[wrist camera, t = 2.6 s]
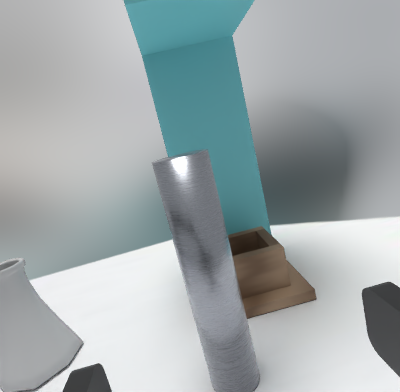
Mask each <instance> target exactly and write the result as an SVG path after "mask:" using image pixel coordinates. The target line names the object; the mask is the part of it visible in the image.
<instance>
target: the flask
mask: <svg viewBox="0 0 400 392" xmlns="http://www.w3.org/2000/svg"><path fill="white" fill-rule="evenodd" d="M24 266H25V260H24V259H22V258H15V259H10V260H6V261H4V262H1V263H0V387H1V389H2V390H3V392H15V391H22V390H30V389H36V388H37V387H38V386H40V385H41V384H42V383H44V382H45V381H47V380H48V379H49V378H51V377H52V376H53V375H55V374H56V373H57V372H59V371H60V370H62V369H63V368H64V367H66V366H67V365H68V364H69V363H70V361H71V360H72V358H73V357H74V355H75V354H76V352H77V351H78V349H79V348H80V346H81V345H82V343H83V341H82V340H81V339H80V338H79V337H78V335H77V334H75V333H74V332H73V331H72V330H71V329H70V328H69V327H68V326H67V325H66V324H65V323H64V322H63V321H62V320H61V319H60V318H59V317H58V316H57V315H56V314H55V313H54V312H53V311H52V310H51V309H50V308H49V307H48V305H47V304H46V303H45V302H44V301H43V300H42V299H41V298H40V297H39V295H38V294H37V292H36V291H35V289H34V288H33V286H32V285H31V283H30V282H29V280H28V278H27V275H26V273H25V271H24Z"/></svg>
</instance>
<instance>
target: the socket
mask: <svg viewBox="0 0 400 392" xmlns="http://www.w3.org/2000/svg"><path fill="white" fill-rule="evenodd" d="M228 239H229V243H230V248H231V252H232V256H233V261H234V265H235V269H236V274H237V278H238V282H239V287H240V291H241V296H242V300H243V304H244V309H245V313H246V317H247V318H251V317H254V316H258V315H261V314H265V313H269V312H272V311H276V310H279V309H283V308H286V307H290V306H294V305H297V304H301V303H304V302H308V301H312V300H315V299H316V295H315V289H314V288H313V287H312V286H311V285H310V284H309V283H308V282H307V281H306V280H305V279H304V278H303V277H302V276H301V275H300V274H299V272H298V271H297V270H296V269H295V268H294V267H293V266H292V265H291V264H290V263H289V262H288V261H287V260H286V257H285V252H284V247H283V246H282V245H281V244H280V243H279V242H278V241H277V240H276V239H275V238H274V237H272V236H271V235H270V234H269V233H268V232H267V231H266V230H265V229H264V228H263V227H262V226H260V227H256V228H252V229H248V230H245V231H241V232H237V233H233V234H229V235H228Z"/></svg>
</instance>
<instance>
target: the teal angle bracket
mask: <svg viewBox="0 0 400 392" xmlns="http://www.w3.org/2000/svg"><path fill="white" fill-rule="evenodd" d="M253 2H254V0H124V3H125V6H126V9H127V12H128V16H129V18H130V22H131V25H132V27H133V31H134V33H135V36H136V39H137V42H138V45H139V48H140V51H141V54H142V58H143V61H144V65H145V69H146V73H147V77H148V81H149V85H150V88H151V92H152V96H153V100H154V104H155V108H156V112H157V115H158V120H159V123H160V127H161V131H162V135H163V139H164V142H165V146H166V150H167V154H168V157H170V156H174V155H178V154H182V153H186V152H191V151H196V150H202V149H208V152H209V156H210V161H211V165H212V169H213V174H214V178H215V182H216V187H217V191H218V195H219V200H220V204H221V208H222V213H223V217H224V222H225V226H226V230H227V235H229V234H233V233H237V232H241V231H245V230H248V229H252V228H256V227H260V226H262V227H263V228H264V229H265V230H266V231H267V232H268V233H269V234H270V235H271V230H270V225H269V220H268V215H267V210H266V205H265V200H264V195H263V190H262V185H261V180H260V174H259V169H258V164H257V159H256V154H255V149H254V144H253V139H252V134H251V128H250V123H249V118H248V113H247V108H246V103H245V98H244V93H243V88H242V83H241V78H240V73H239V67H238V63H237V57H236V53H235V47H234V42H233V37H232V35H233V33H234V32H235V30H236V29H237V27H238V26H239V24H240V22H241V21H242V19H243V18H244V16H245V14H246V13H247V11H248V10H249V8H250V7H251V5H252V4H253ZM271 236H272V235H271Z"/></svg>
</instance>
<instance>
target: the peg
mask: <svg viewBox="0 0 400 392" xmlns="http://www.w3.org/2000/svg"><path fill="white" fill-rule="evenodd" d="M152 165H153V169H154V172H155V175H156V179H157V183H158V187H159V190H160V194H161V198H162V201H163V205H164V209H165V213H166V216H167V220H168V223H169V227H170V231H171V235H172V238H173V242H174V246H175V249H176V253H177V257H178V260H179V264H180V268H181V271H182V275H183V279H184V282H185V286H186V290H187V293H188V297H189V301H190V304H191V308H192V312H193V315H194V319H195V323H196V326H197V330H198V334H199V337H200V341H201V345H202V348H203V352H204V356H205V359H206V363H207V367H208V371H209V374H210V378H211V382H212V385H213V388H214V390H215V392H253V391H254V390H255V389H256V387H257V385H258V383H259V380H260V374H259V369H258V365H257V361H256V356H255V352H254V348H253V343H252V339H251V335H250V330H249V326H248V322H247V317H246V313H245V309H244V304H243V300H242V296H241V291H240V287H239V282H238V278H237V274H236V269H235V265H234V261H233V256H232V252H231V248H230V243H229V239H228V235H227V230H226V226H225V222H224V217H223V213H222V208H221V204H220V200H219V195H218V191H217V187H216V182H215V178H214V174H213V169H212V165H211V161H210V156H209V152H208V149H202V150H196V151H191V152H186V153H182V154H178V155H174V156H170V157H167V158H163V159H160V160H157V161H155V162H153V163H152Z"/></svg>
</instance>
